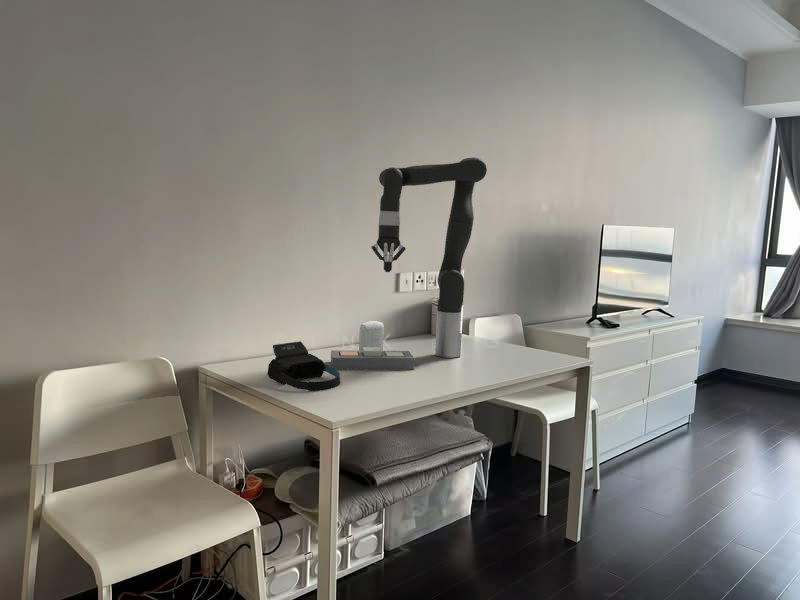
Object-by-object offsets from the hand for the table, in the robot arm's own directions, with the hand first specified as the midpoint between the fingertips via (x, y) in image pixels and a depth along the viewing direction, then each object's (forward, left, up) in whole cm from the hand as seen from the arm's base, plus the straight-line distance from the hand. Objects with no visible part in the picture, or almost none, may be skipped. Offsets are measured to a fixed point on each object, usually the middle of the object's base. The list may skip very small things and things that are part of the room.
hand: (387, 272), depth 229 cm
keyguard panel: (+6, +12, -32) cm, 35 cm away
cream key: (-2, +12, -31) cm, 33 cm away
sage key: (+6, +12, -29) cm, 32 cm away
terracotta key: (+14, +12, -31) cm, 36 cm away
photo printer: (+4, -9, -32) cm, 34 cm away
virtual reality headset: (+29, +35, -32) cm, 56 cm away
